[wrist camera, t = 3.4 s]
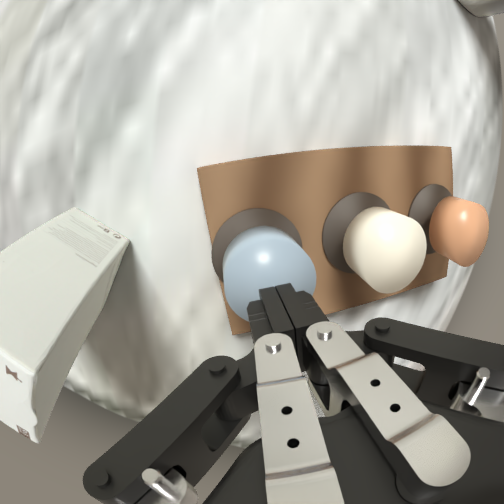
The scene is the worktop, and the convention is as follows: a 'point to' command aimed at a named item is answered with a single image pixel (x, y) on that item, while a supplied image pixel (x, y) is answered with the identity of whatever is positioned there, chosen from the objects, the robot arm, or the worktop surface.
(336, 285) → the board
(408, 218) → the button cream
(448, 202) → the button terracotta
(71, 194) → the worktop surface
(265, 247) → the button slate
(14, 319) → the skincare box
